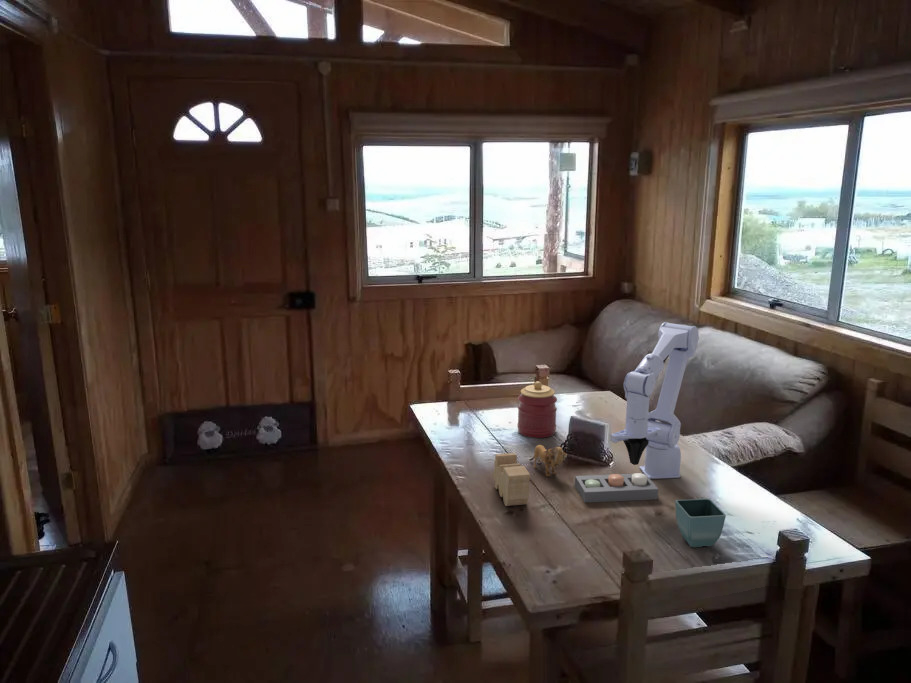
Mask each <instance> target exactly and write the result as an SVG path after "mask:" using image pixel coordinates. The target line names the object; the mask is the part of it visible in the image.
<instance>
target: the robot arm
mask: <svg viewBox="0 0 911 683" xmlns="http://www.w3.org/2000/svg"><path fill="white" fill-rule="evenodd" d="M699 334H700V333H699V329H698V327H697V326H696V325H686V324H679V323H678V324H677V323H671V322H668V321H664V322H663V323H661V325H660V326H659V328H658V334H657V335H658V337H657V338H658V341H657V343H656V344H655V347H654V349H653V350H652V351H651V353H648V354H646V355H645V356H644V357H643V358H642V360H640V363H639V364H638V365H637V366H636V368H635V369H634V370H632V371H629V372H628V373H627V374H626V375H625V377H624V381H623V390H624V394H625V395H624V397H625V399H626V410H625V411H626V412H625V427H624V429H622V430H619V431H617V432H613V433H610V438H609V439H610V441H611V442H612V443H614V444H617V443H619V442H623V443H624V445H625V447H626V451H627V453H628V458H629V463H630V464H631V465H633V466H637V465H639V463H640V460H641V457H642V455H643V452H644V451H645V455H644V456H645V457H644V465H640V466H639V467H638V468H639V469H640V471H641V473H645V474H646V475H647V476H648V477H649V478H650V480H654V479H657V480H658V479H679V478H681V475H680V471H681V469H680V468H681V461H682V460H681V459H682V455H681V448H680V446H679V445H678V442H679V439H680V436H681V427H682V426H681V425H682V423H681V421H680V420H679V418H678V417H677V416H676V415H675V413H674V412H675V408H676V405H677V401H678V397H679V394H680V391H681V390H680V389H681V386H682V383H683V377H684V374H685V371H686V366H687V363H688V360H689V359H690V358H692V357H694V355H695V353H696V351H697V346H698V344H699V343H698V342H699V338H700V337H699ZM668 356H669V358H668V359H669V360H668V362H667V366H666V370H665V375H664V378H663V382H662V386H661V390H660V392H659V397H658V400H657V401H658V402H657V404H656V408H655V409H653V410H651V411H649V410H650V398H651V394H653V392H654V389H655V385H656V383H657V378H658V377H659V375H660V374H661V372H662V370H663V369H664V367H665V362H664V361H665V359H667V357H668Z"/></svg>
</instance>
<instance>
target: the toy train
mask: <svg viewBox="0 0 911 683" xmlns="http://www.w3.org/2000/svg"><path fill="white" fill-rule="evenodd" d="M494 456H495V460H494V466H493V467H494V469H493V471H492V477H493V479H494V487H495V490H498V493H499V496H500V498H502V499H503V504H504V506H506V507H510V506H511V507H512V506H521V505H527V504H528V502H529V501H528V500H529V497H530V495H529V494H530V480H531V474H530V472H529V471H528V470H527V469H528V468H526V467H525V465H522V464H521V463H517V462H518V456H517V454H516V452H508V453H496V454H495V455H494Z"/></svg>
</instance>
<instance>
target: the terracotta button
mask: <svg viewBox="0 0 911 683" xmlns="http://www.w3.org/2000/svg"><path fill="white" fill-rule="evenodd" d="M618 474H619V473H616V474H615V473H612V474H608V475H609V481H608V485H609V486H610V487H617V486H623V483H624V477H623V476H621V475H618Z"/></svg>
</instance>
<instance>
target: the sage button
mask: <svg viewBox="0 0 911 683" xmlns="http://www.w3.org/2000/svg"><path fill="white" fill-rule="evenodd" d="M585 487H586V488H594V487H600V482H599V481H597V480H592V479H590V480H586V481H585Z"/></svg>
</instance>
